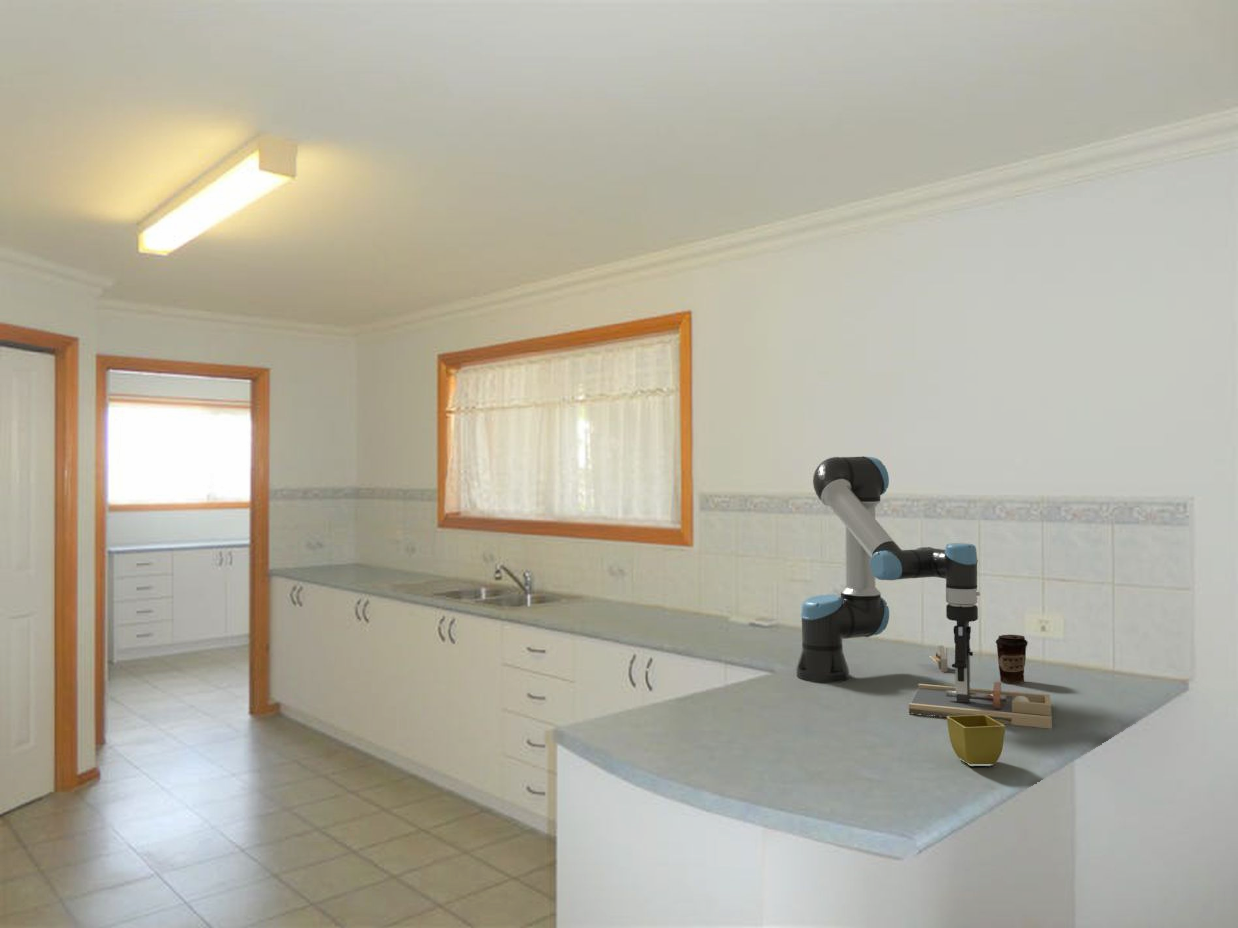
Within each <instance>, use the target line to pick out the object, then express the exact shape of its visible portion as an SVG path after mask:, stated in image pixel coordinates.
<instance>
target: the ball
mask: <svg viewBox="0 0 1238 928" xmlns="http://www.w3.org/2000/svg"><path fill="white" fill-rule="evenodd" d="M1013 701H1024V702H1030V701H1029V700H1028V699H1027V698H1026V697H1024V696H1017V697H1016V698H1014V700H1013Z"/></svg>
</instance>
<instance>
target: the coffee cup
mask: <svg viewBox="0 0 1238 928" xmlns="http://www.w3.org/2000/svg"><path fill="white" fill-rule="evenodd" d="M1028 643H1029V642H1028V641H1027V640H1026V639H1025V636H1024V635H1022V634H1021V635H1019V634H1002V635H998V638H997V639H996V640H995V644H996V648H997V649H996V651H997V660H998V661H997V663H998V670H999V671H998V672H999V676H1000V677H999V679H1000V680H999V681H1000V683H1005V684H1024V683H1026V682H1025V675H1024V673H1025V665H1026V660H1027V659H1026V657H1027V656H1026V653H1027V646H1028Z"/></svg>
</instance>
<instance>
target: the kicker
mask: <svg viewBox="0 0 1238 928" xmlns="http://www.w3.org/2000/svg"><path fill="white" fill-rule="evenodd" d="M966 665H967V667H966V668H967V695H966V694H955V691H950V690H946V696H947V697H957V702H966V703H969V702H970V699H979V700H989V701H993V708H997V709H1000V708H1001V702H1006V695H1001V691H1002V682H1001V681H1000V682H998V681H994V682H993V688H992V690H993V694H984V693H973V692H970V688H971V687H970V686H971V668H970V669H969V653H966Z"/></svg>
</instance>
